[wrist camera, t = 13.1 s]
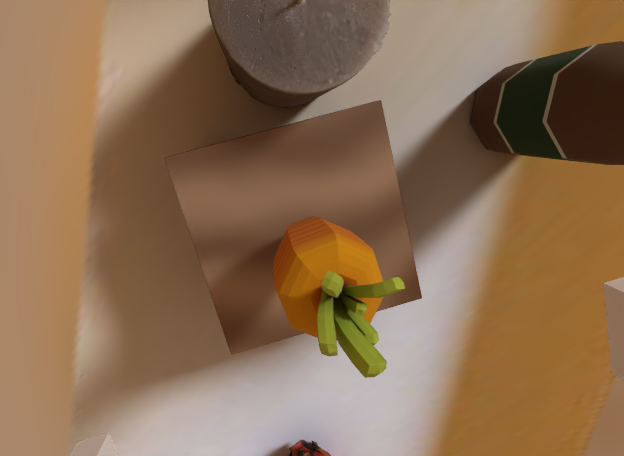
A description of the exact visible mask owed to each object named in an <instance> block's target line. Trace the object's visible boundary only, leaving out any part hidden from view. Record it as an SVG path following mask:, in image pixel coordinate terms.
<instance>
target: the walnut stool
mask: <svg viewBox="0 0 624 456" xmlns="http://www.w3.org/2000/svg"><path fill="white" fill-rule="evenodd" d="M164 159H165V162H166V165H167V168H168V171H169V174H170V177H171V180H172V182H173V185H174V188H175V191H176V194H177V197H178V200H179V203H180V206H181V209H182V212H183V215H184V217H185V220H186V223H187V226H188V229H189V232H190V235H191V238H192V241H193V244H194V247H195V250H196V252H197V255H198V258H199V261H200V264H201V267H202V270H203V273H204V276H205V279H206V282H207V285H208V288H209V290H210V293H211V296H212V299H213V302H214V305H215V308H216V311H217V314H218V317H219V320H220V323H221V325H222V328H223V331H224V334H225V337H226V340H227V343H228V346H229V349H230V352H231V355H232V354H235V353H239V352H242V351H245V350H249V349H252V348H256V347H259V346H262V345H266V344H269V343H272V342H276V341H279V340H282V339H286V338H289V337H293V336H296V335H299V334H303V333H304V332H301V331H299V330H296V329H294V328H292V327H291V326H290V323H289V321H288V318H287V316H286V313H285V311H284V309H283V306H282V304H281V301H280V299H279V296H278V294H277V291H276V289H275V286H274V277H273V260H274V257H275V254H276V252H277V250H278V247H279V245H280V243H281V241H282V239H283V237H284V235H285V232H286V230H287V228H288V226H289V225H290V224H293V223H295V222H298V221H300V220H303V219H306V218H308V217H311V216H316V217H320V218H322V219H324V220H327V221H329V222H331V223H334V224H336V225H338V226H340V227H343V228H345V229H347V230H349V231H351V232H352V233H354V234H355V235H356V236H358V237H359V238H361V239H362V240H363V241H364V242H365V243H366V244H368V245H369V246H370V247H371V248H372V249H373V251H374V254H375V257H376V260H377V263H378V266H379V269H380V272H381V275H382V278H383V281H385V280H387V279H391V278H395V277H400V278H401V279H402V281H403V282H404V286H405V289H403V290H400V291H398V292H396V293H393V294H391V295H387V296H384V297H383V299H382V301H381V303H380V305H379V307H378V309H377V311H380V310H384V309H387V308H390V307H394V306H397V305H400V304H404V303H407V302H411V301H414V300H417V299H421V298H422V296H421V291H420V286H419V281H418V276H417V272H416V267H415V262H414V257H413V252H412V248H411V243H410V238H409V233H408V228H407V223H406V219H405V214H404V209H403V204H402V199H401V195H400V190H399V185H398V180H397V175H396V170H395V166H394V161H393V156H392V151H391V146H390V142H389V137H388V132H387V127H386V122H385V117H384V113H383V108H382V103H381V100H380V101H375V102H371V103H367V104H364V105H360V106H356V107H352V108H349V109H345V110H341V111H337V112H334V113H330V114H326V115H322V116H319V117H315V118H311V119H307V120H304V121H300V122H296V123H292V124H289V125H285V126H281V127H278V128H274V129H270V130H266V131H263V132H259V133H255V134H251V135H248V136H244V137H240V138H236V139H233V140H229V141H225V142H221V143H218V144H214V145H210V146H206V147H203V148H199V149H195V150H191V151H188V152H184V153H180V154H177V155H173V156H169V157H166V158H164ZM377 311H376V312H377Z"/></svg>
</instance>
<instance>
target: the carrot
mask: <svg viewBox="0 0 624 456" xmlns="http://www.w3.org/2000/svg"><path fill="white" fill-rule="evenodd" d="M273 277H274V286H275V289H276V291H277V294H278V296H279V299H280V301H281V304H282V306H283V309H284V311H285V313H286V316H287V318H288V321H289V323H290V326H291V327H292V328H294V329H296V330H299V331H301V332H304V333H307V334H309V335H312V336H315V337H317V338H318V341H319V347H320V351H321V353H322V354H324V355H327V356H335V355H337V342H336V340H338V342H339V344H340V346H341V347H342V349H343V350H344V352H345V353H346V354H347V356H348V357H349V359H350V360H351V362H352V363H353V364H354V365H355V367H356V368H357V369H358V370H359V371H360V372H361V374H362V375H363V376H364V377H375V376H377V375H378V374H380V373H381V372H383V371H384V370H385V369H386V362H387V361H386V360H385V359H384V358H383V357H382V355H381V354H380V353H379V352H378V351H377V349H376V348H375V347H374V346H373V345H375V344H376V343H377V341H378V340H379V338H378V333H377V331H376V330H375V329H374V328H373V327H372V326H371V325H370V323H371V321H372V319H373V317H374V315H375V313H376V311H377V309H378V307H379V305H380V303H381V301H382V299H383V297H384V296H387V295H391V294H393V293H396V292H398V291H400V290H403V289H405V286H404V282H403V281H402V279H401V278H400V277H395V278H391V279H387V280H385V281H383V278H382V275H381V272H380V269H379V266H378V263H377V260H376V257H375V254H374V251H373V249H372V248H371V247H370V246H369V245H368V244H366V243H365V242H364V241H363V240H362V239H361V238H359V237H358V236H356V235H355V234H354V233H352V232H351V231H349V230H347V229H345V228H343V227H340V226H338V225H336V224H334V223H331V222H329V221H327V220H324V219H322V218H320V217H316V216H311V217H308V218H306V219H303V220H300V221H298V222H295V223H293V224H290V225H289V226H288V228H287V230H286V232H285V235H284V237H283V239H282V241H281V243H280V245H279V247H278V250H277V252H276V254H275V257H274V260H273Z"/></svg>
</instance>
